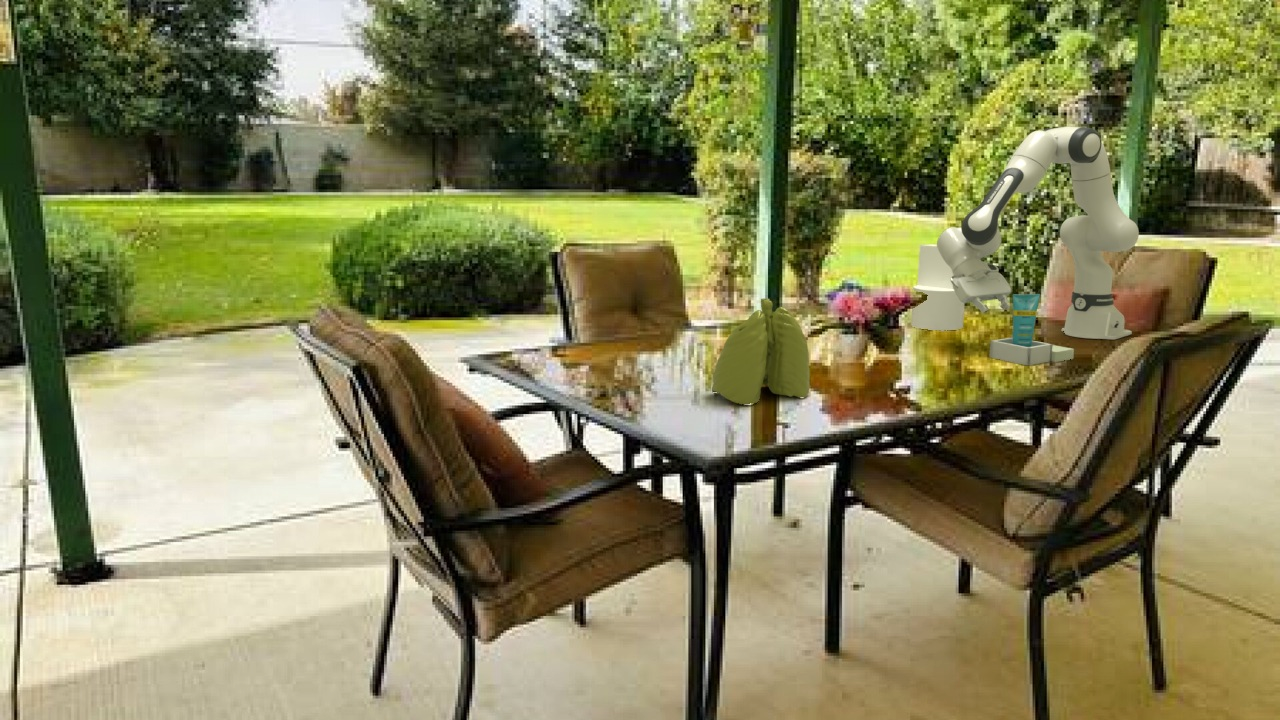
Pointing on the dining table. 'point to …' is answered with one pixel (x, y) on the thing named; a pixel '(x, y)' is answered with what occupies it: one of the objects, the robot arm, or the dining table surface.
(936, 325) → the white chair
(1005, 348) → the grey open tray
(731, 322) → the dining table surface
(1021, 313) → the tube
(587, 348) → the dining table surface
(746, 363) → the lungs
